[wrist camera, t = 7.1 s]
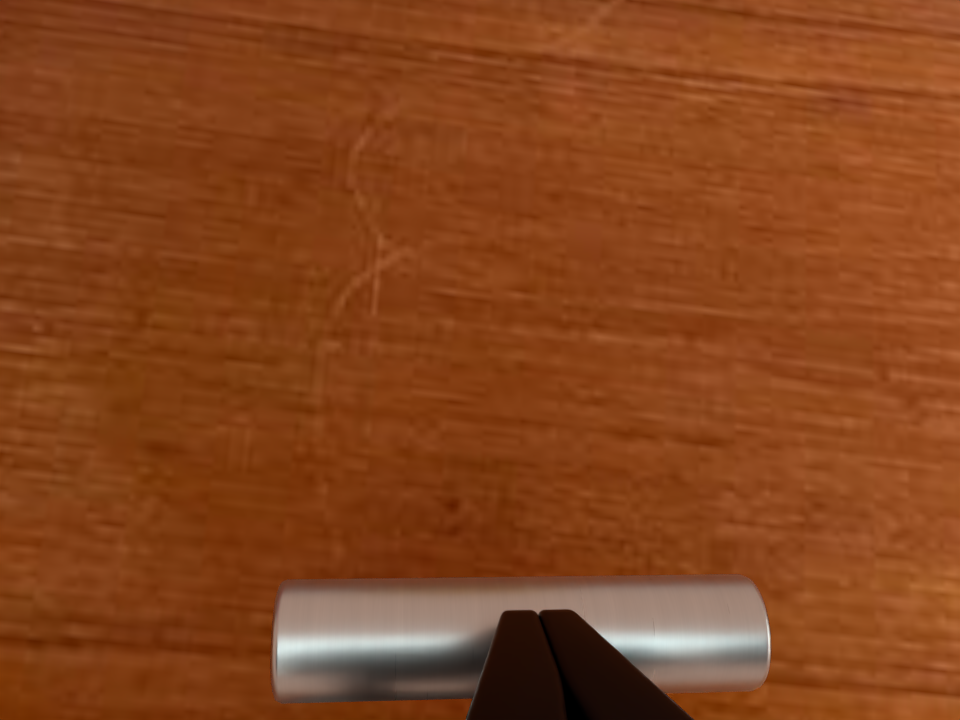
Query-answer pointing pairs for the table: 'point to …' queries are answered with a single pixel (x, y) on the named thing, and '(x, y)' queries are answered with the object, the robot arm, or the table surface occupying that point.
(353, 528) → the table surface
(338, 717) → the table surface
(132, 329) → the table surface
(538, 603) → the lever
